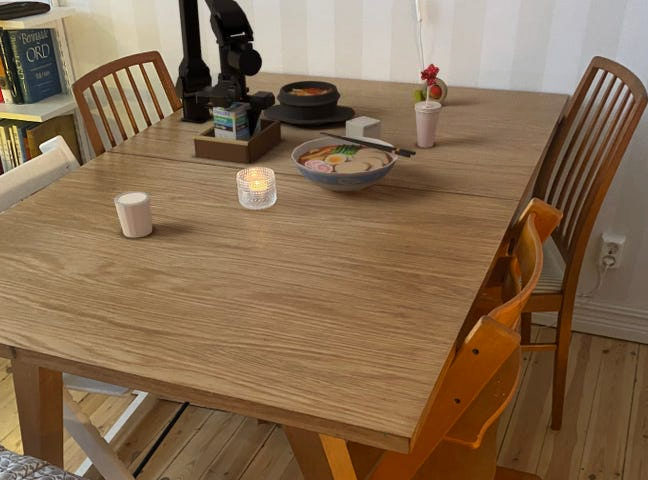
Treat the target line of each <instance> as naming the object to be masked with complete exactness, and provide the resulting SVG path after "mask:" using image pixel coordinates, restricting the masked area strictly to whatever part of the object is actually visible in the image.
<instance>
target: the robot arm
mask: <svg viewBox="0 0 648 480" xmlns="http://www.w3.org/2000/svg"><path fill="white" fill-rule="evenodd" d="M198 1H199V0H178V11H179V22H180V23H179V24H180V33H181V45H182V54H183V57H182V59H181V61H180V63H179V66H178V68H177V69H178V76H177V79H176V82H175V86H174V92H175V96H176V98H178V99H179V100H181V108H182V115H183V117H180V121H182V122H187V123H188V122H190V123H198V124H201V123H203V122H205V121H206V120H209V118H212V116H213V113H212V114H211V112H210V110H211V111H212V112H213V108H214V107H215V108H216V107H221V108H224V109H227V108H230V107H231V105H232V103H233V102H236V103H237V102H241V103H250V108H248V109H247V110H246V112H247V113H248V116H249V132H250V136H252V135H253V134H254V131H255V128H256V125H257V122H258V119H259V116H260V117H261V115H262V112H263V111H265V110H266V109H268V108H270V107H271V106H274V105H276V96H275V94H274V93H273V91H266V90H264V91H263V90H259V91H257V92H255V93H253V94H248V93H250V87H249V86H247V77H254V76H256V75H257V74H259V72H260V71H261V69H262V65H263V58H262V55H261V54H260V52H259V51H258V50H257V49H254V44H253V42H255V37H254V30H253V28H252V26H251V24H250V22H249V19H248V17H247V14H246V12H245V11H244V9H243V8H242V7H241V5H240V4H239V3H238V2H237V0H204V2H205V4H206V6H207V8H208V10H209V12H210V14H209V15H210V16H209V23H210V29H211V30H212V32H213V35H214V36H215V38H216V40H215V44H217V46H218V58H219V65H220V66H219V67H220V72H219V73H217V83H216V84H214V85H213V78H212V75H211V69H210V67H209V66H208V65H207V64H206V62H205V60H204V59H203V54H202V53H203V52H202V43H201V42H202V40H201V29H200V27H201V26H200V13H199V2H198ZM241 98H242V99H241Z"/></svg>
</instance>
